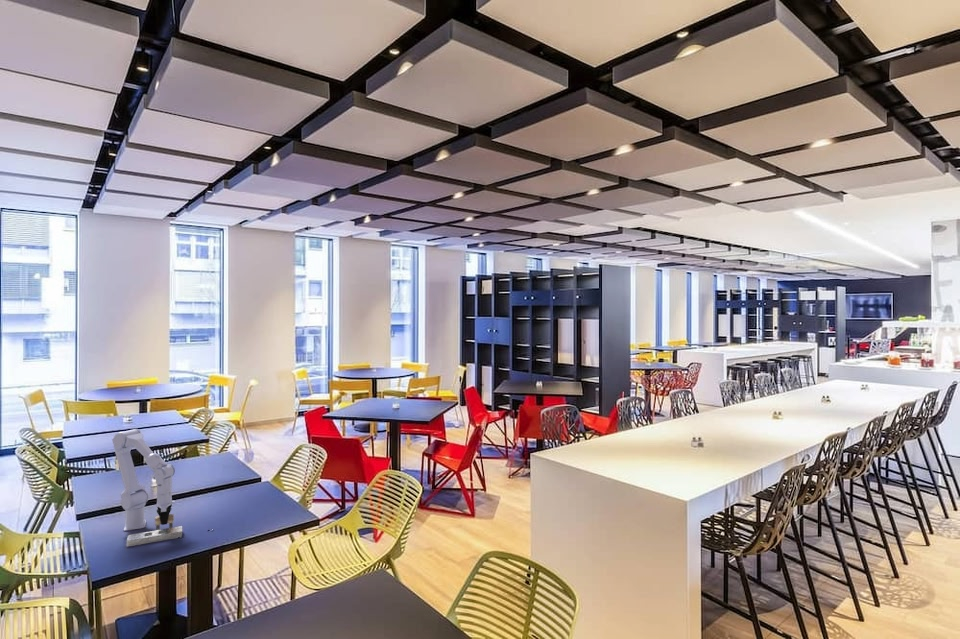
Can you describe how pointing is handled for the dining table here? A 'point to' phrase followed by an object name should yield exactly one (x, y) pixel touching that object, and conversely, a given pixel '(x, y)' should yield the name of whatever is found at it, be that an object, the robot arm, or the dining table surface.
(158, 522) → the clip
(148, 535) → the grey plate with holes
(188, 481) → the dining table surface
